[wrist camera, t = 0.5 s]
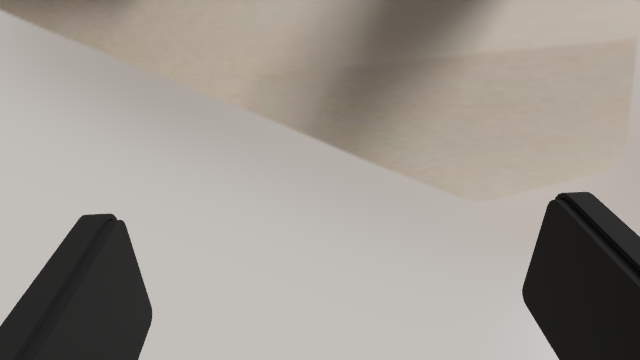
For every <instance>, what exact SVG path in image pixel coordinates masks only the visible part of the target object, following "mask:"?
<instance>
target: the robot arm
mask: <svg viewBox="0 0 640 360" xmlns="http://www.w3.org/2000/svg"><path fill="white" fill-rule="evenodd" d="M522 291H523V292H522V293H523V299H524V302H525V304H526V306H527V307H528V309H529V311H530V312H531V314H532V316H533V317H534V319H535V321H536V322H537V324H538V325H539V327H540V328H541V330H542V332H543V334H544V335H545V337H546V339H547V340H548V342H549V343H550V345H551V347H552V348H553V350H554V352H555V353H556V355H557V356H558V358H559V360H640V237H639V236H638V235H637V234H636V233H635V232H634V231H633V230H631V229H630V228H629V227H628V226H627V225H626V224H625V223H624V222H622V221H621V220H620V219H619V218H618V217H617V216H616V215H615V214H614V213H612V212H611V211H610V210H609V209H608V208H607V207H606V206H605V205H604V204H603V203H602V202H600V201H599V200H598V199H597V198H596V197H595V196H594V195H592V194H591V193H589V192H577V193H576V192H575V193H561V194H558V196H557V197H556V198H555V200H552V201H550V202H549V204H548V206H547V209H546V213H545V216H544V219H543V222H542V226H541V229H540V232H539V236H538V239H537V242H536V246H535V249H534V252H533V255H532V259H531V262H530V266H529V269H528V272H527V275H526V279H525V282H524V285H523V289H522ZM151 320H152V308H151V304H150V301H149V298H148V295H147V292H146V288H145V285H144V282H143V279H142V276H141V273H140V269H139V266H138V263H137V260H136V257H135V254H134V250H133V247H132V244H131V241H130V238H129V234H128V232H127V228H126V225H125V223H124V222H123V221H122V220H117V219H116V217H115V216H114V215H113V214H94V215H83V216H82V217H81V218H80V219H79V220H78V221H77V223H76V224H75V225H74V227H73V228H72V229H71V231H70V232H69V233H68V235H67V236H66V238H65V239H64V240H63V242H62V243H61V244H60V246H59V247H58V248H57V250H56V251H55V253H54V254H53V255H52V257H51V258H50V259H49V261H48V262H47V263H46V265H45V266H44V268H43V269H42V270H41V272H40V273H39V274H38V276H37V277H36V278H35V280H34V281H33V282H32V284H31V285H30V287H29V288H28V289H27V291H26V292H25V294H24V295H23V296H22V297H21V299H20V300H19V302H18V303H17V304H16V306H15V307H14V308H13V310H12V311H11V313H10V314H9V315H8V317H7V318H6V319H5V321H4V322H3V323H2V325H1V326H0V360H138V358H139V355H140V352H141V349H142V347H143V344H144V341H145V339H146V336H147V333H148V330H149V327H150V325H151Z"/></svg>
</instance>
